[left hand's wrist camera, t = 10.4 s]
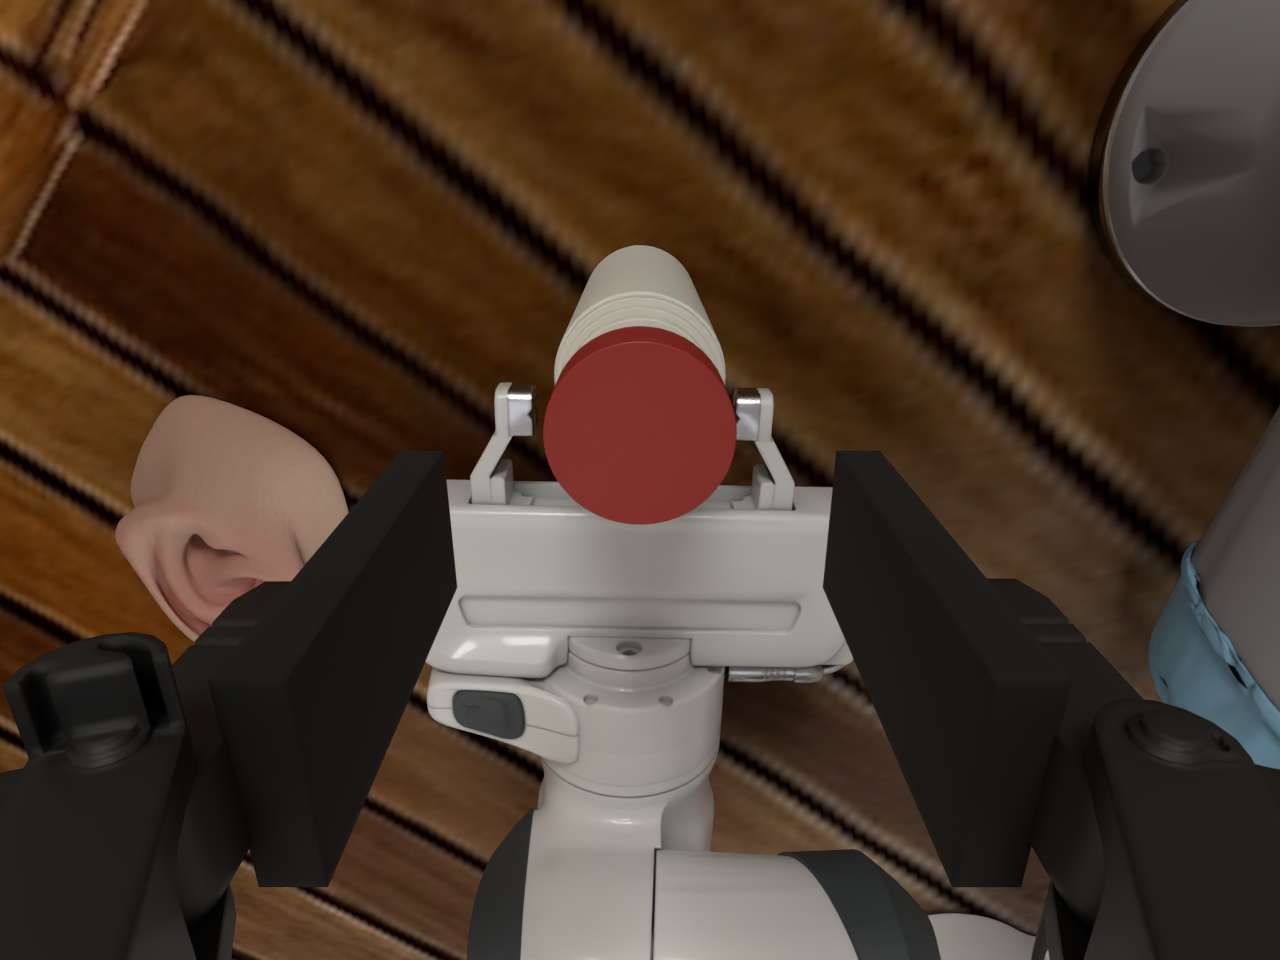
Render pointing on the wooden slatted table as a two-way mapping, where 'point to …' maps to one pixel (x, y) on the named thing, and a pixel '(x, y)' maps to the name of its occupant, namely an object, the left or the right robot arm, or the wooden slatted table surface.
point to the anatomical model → (223, 508)
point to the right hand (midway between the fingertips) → (634, 388)
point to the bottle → (639, 303)
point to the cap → (639, 426)
